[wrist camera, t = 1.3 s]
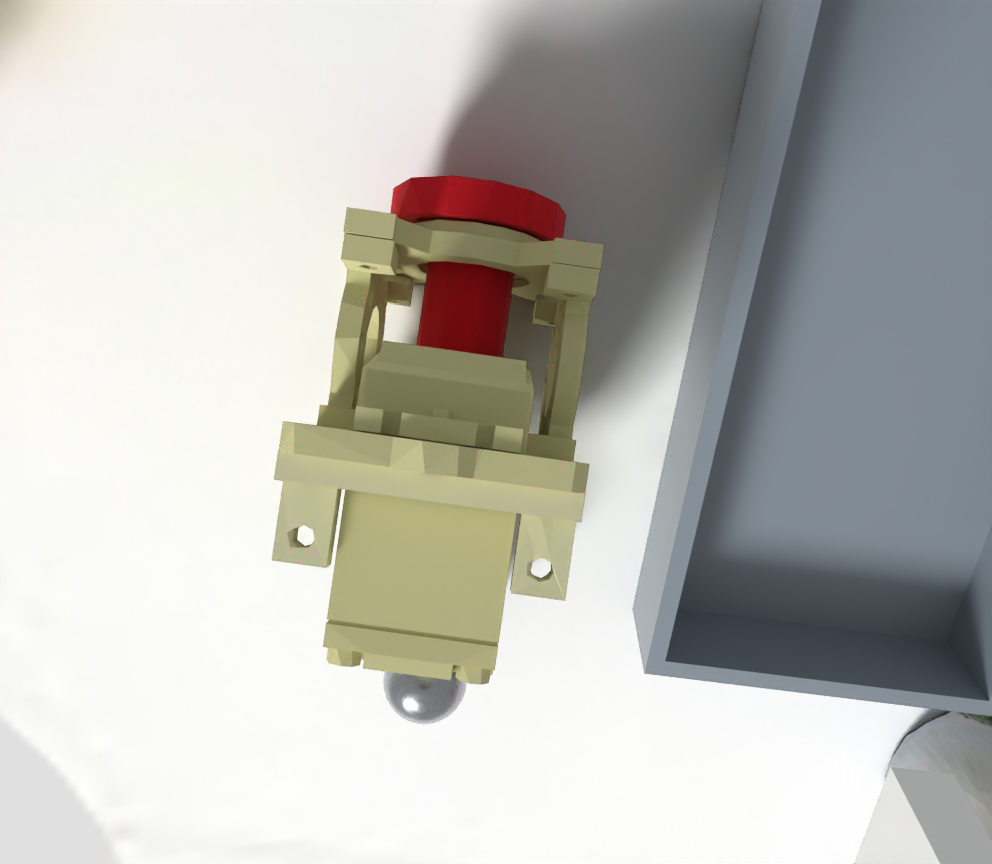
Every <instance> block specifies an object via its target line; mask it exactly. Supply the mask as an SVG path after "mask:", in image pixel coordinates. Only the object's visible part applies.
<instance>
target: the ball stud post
mask: <svg viewBox="0 0 992 864" xmlns="http://www.w3.org/2000/svg"><path fill="white" fill-rule="evenodd" d="M455 676H456V672H453V674H452V677H451V680H445V679H437V678H430V677H423V676H416V675H408V674H401V673H394V672H387V671H385V673H384V691H385V694H386V697H387V700H388V702H389V704H390V705H391V707H392V708H393V709H394V710H395V712H396V713H398V714H399V715H400V716H401V717H403V718H404V719H406V720H408V721H411V722H414V723H419V724H429V723H435V722H438V721H440V720H442V719H444V718H446V717H448V716H449V715H450V714H451V713H452V712H454V711H455V709H456V708H457V707H458V706H459V704H460V702H461V701H462V699H463V696H464V694H465V689H466V682H463V681H460V680H458V679H457V678H456V677H455Z"/></svg>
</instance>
